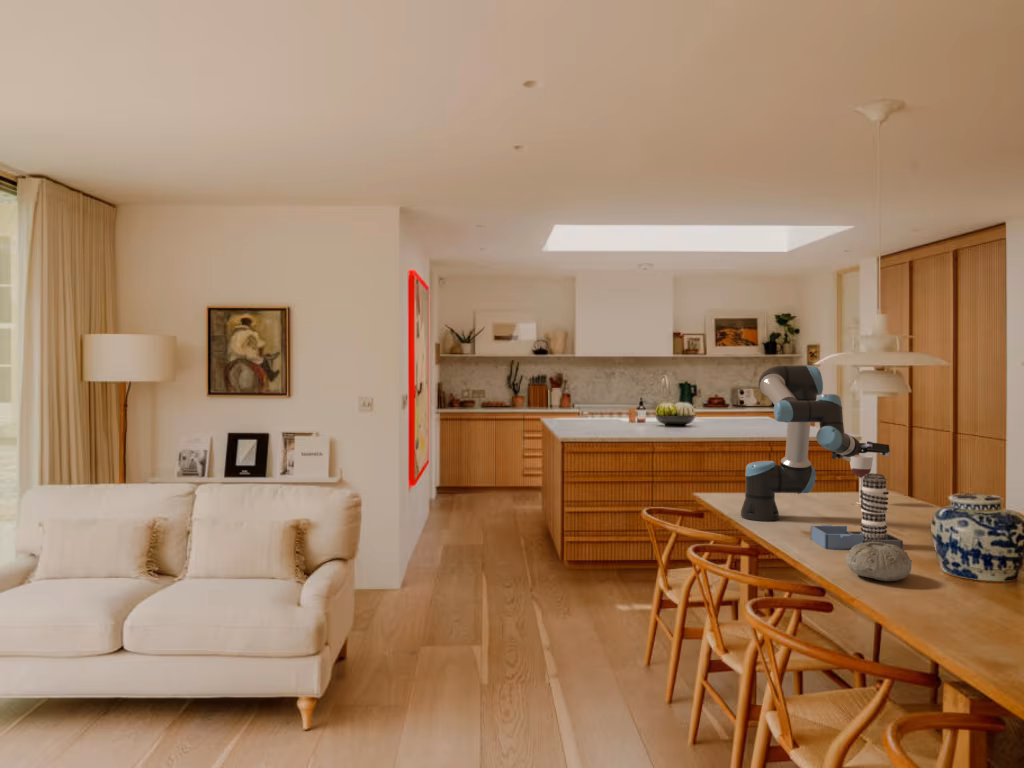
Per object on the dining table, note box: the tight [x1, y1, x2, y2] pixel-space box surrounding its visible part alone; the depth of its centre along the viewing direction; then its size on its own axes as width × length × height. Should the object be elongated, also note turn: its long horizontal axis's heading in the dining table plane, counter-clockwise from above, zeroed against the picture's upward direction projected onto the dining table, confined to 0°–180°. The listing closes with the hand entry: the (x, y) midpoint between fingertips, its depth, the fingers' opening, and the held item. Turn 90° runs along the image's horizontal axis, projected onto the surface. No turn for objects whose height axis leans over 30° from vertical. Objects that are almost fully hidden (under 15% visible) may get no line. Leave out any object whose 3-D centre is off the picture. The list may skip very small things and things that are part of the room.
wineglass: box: [849, 454, 874, 504], centre depth 330 cm, size 9×10×22 cm
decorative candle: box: [859, 472, 890, 540], centre depth 257 cm, size 9×9×25 cm
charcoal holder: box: [847, 530, 904, 550], centre depth 257 cm, size 14×14×3 cm
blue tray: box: [809, 524, 863, 550], centre depth 257 cm, size 13×18×5 cm
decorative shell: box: [844, 541, 913, 582], centre depth 218 cm, size 18×18×10 cm
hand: (868, 455), depth 268 cm, fingers open, 13 cm apart
